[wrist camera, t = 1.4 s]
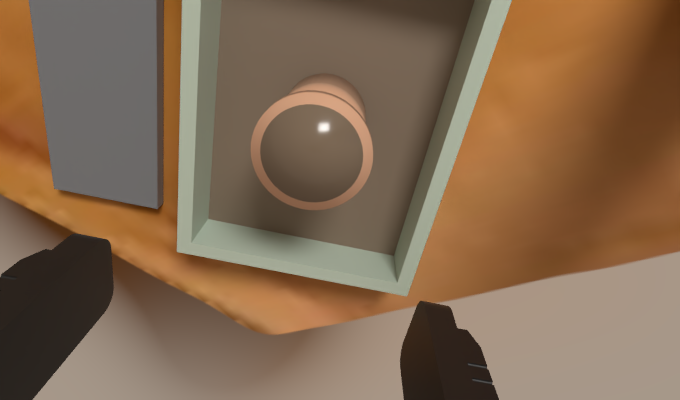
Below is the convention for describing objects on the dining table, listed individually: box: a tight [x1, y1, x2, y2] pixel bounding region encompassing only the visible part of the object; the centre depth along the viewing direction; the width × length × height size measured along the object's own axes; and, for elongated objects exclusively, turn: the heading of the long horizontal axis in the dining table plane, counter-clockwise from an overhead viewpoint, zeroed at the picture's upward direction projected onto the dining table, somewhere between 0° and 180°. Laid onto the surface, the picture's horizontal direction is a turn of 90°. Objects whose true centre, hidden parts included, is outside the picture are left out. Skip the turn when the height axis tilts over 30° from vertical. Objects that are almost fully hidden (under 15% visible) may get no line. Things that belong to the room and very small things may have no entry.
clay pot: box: [251, 73, 373, 210], centre depth 24 cm, size 6×6×8 cm
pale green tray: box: [177, 0, 512, 296], centre depth 26 cm, size 17×22×4 cm
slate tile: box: [29, 0, 164, 209], centre depth 27 cm, size 8×20×1 cm, turn 169°
